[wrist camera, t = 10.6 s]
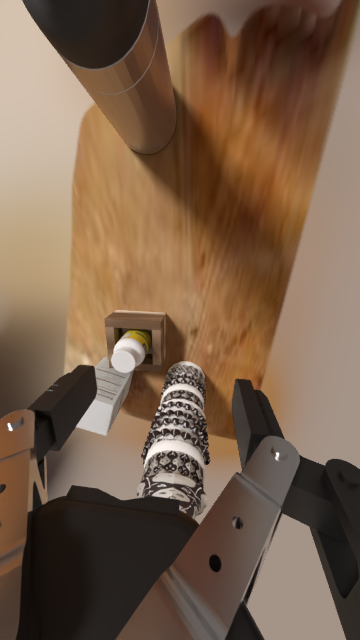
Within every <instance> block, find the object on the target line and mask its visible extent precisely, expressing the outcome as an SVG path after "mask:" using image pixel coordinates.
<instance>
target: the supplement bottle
mask: <svg viewBox="0 0 360 640" xmlns="http://www.w3.org/2000/svg"><path fill="white" fill-rule="evenodd" d="M151 344H152V334H151V332H150V331H149V330H147V329H131V328H130V329H129V330H128V331H127V332H126V333H125V334H124V336H123V337H122V338H121V339H120V340H119V341H118V342H117V344H116V345H115V347H114V351H113V353H114V354H113V355H112V358H111V363H112V366H113V367H114V368H115V369H116V370H117V371H119V372H122V373H128V372H131V371H132V370H133V369H134V368H135V367H136V366H138V365H140V364H141V363H142V362H143V360H144V358H145V356H146V354H147V352H148V350H149V348H150V347H151Z"/></svg>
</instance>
